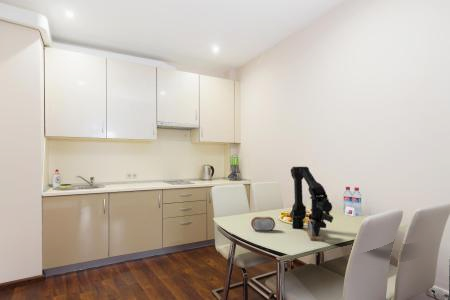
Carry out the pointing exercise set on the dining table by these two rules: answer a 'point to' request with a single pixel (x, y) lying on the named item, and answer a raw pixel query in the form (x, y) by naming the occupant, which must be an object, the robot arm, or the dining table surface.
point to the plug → (311, 229)
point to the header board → (314, 238)
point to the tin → (263, 223)
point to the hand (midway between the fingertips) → (316, 235)
